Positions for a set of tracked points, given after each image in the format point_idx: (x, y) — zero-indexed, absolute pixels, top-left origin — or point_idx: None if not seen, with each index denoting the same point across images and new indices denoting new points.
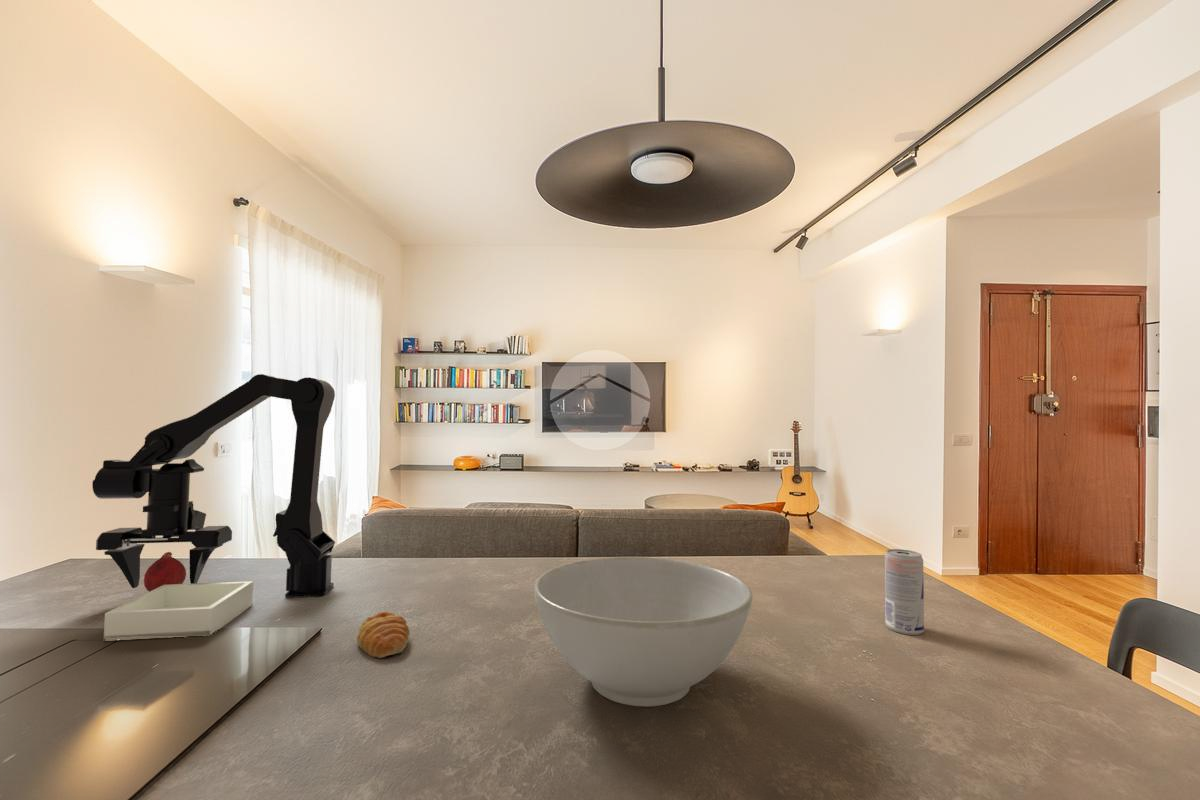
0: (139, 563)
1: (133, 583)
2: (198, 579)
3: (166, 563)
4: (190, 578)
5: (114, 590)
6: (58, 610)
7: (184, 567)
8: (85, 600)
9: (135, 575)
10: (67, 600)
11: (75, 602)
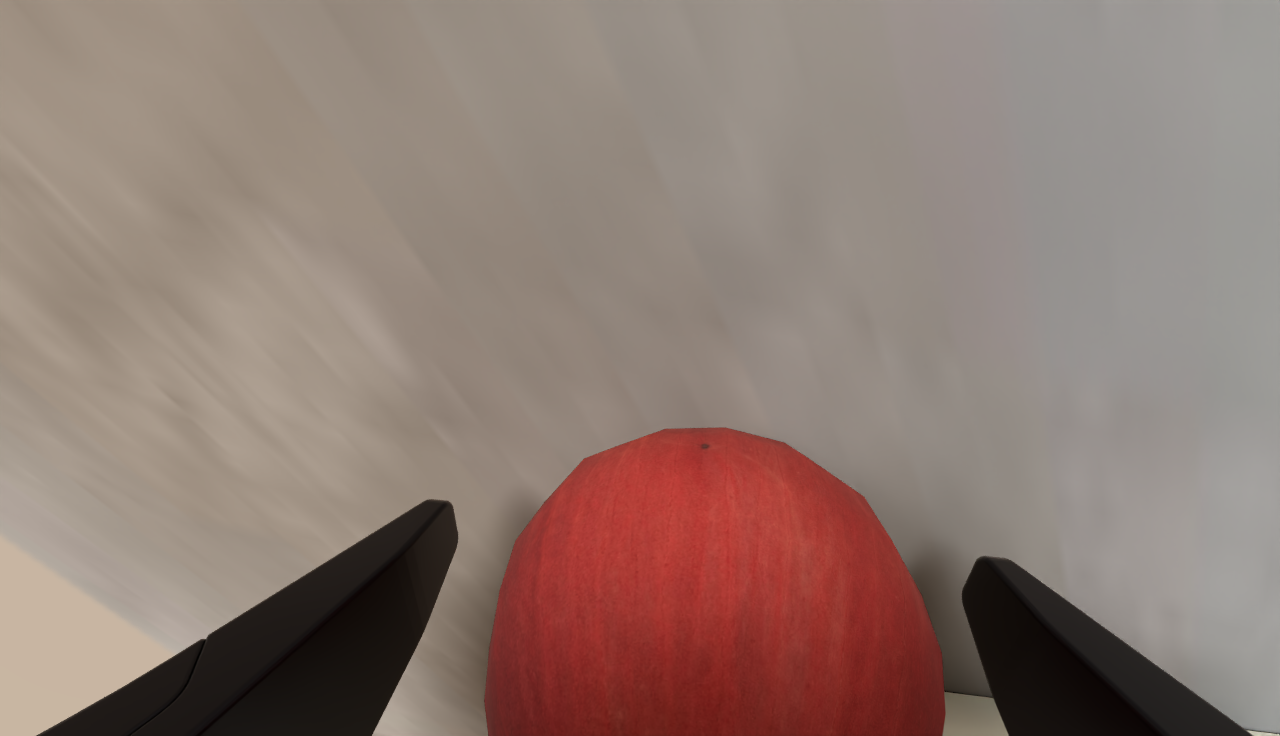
0: (241, 712)
1: (438, 593)
2: (1054, 596)
3: None
4: (1004, 709)
5: (82, 137)
6: (209, 554)
7: (944, 715)
8: (155, 400)
9: (386, 636)
10: (29, 373)
11: (137, 430)
